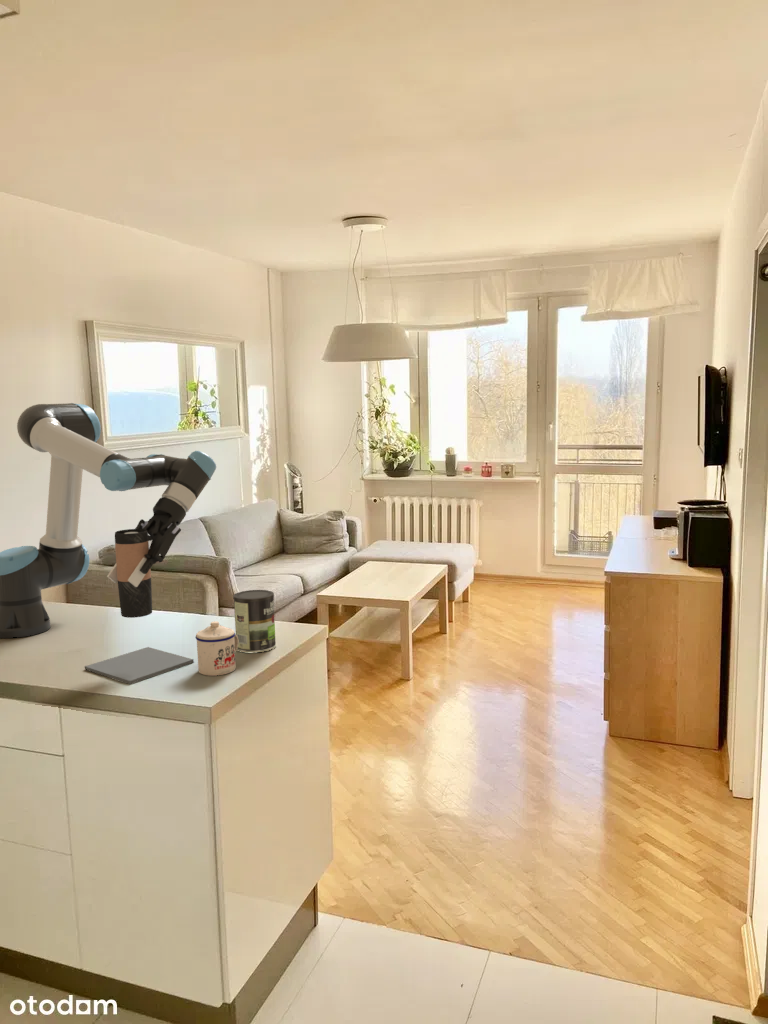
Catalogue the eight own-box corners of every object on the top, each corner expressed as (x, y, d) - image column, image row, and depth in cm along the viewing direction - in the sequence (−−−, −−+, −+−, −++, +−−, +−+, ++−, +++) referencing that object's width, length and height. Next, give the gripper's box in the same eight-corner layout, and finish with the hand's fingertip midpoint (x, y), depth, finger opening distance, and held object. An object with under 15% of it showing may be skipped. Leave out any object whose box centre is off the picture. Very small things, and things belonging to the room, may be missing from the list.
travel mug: (160, 611, 188) (154, 529, 185) (137, 619, 181) (132, 534, 178) (135, 608, 191) (130, 528, 188) (113, 616, 184) (106, 533, 181)
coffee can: (281, 642, 204) (279, 589, 202) (268, 654, 194) (265, 599, 192) (244, 640, 206) (242, 588, 204) (229, 652, 196) (226, 598, 194)
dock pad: (84, 669, 186) (84, 666, 186) (148, 650, 200) (147, 647, 200) (130, 684, 175) (129, 680, 175) (193, 662, 189) (193, 659, 189)
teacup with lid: (218, 679, 177) (215, 629, 176) (189, 672, 182) (186, 624, 180) (252, 663, 187) (250, 616, 186) (224, 658, 192) (222, 612, 191)
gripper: (209, 517, 189) (158, 595, 178) (157, 512, 201) (107, 585, 191) (191, 498, 184) (137, 577, 173) (139, 493, 196) (86, 568, 186)
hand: (121, 581), depth 182 cm, fingers closed on travel mug, 7 cm apart
